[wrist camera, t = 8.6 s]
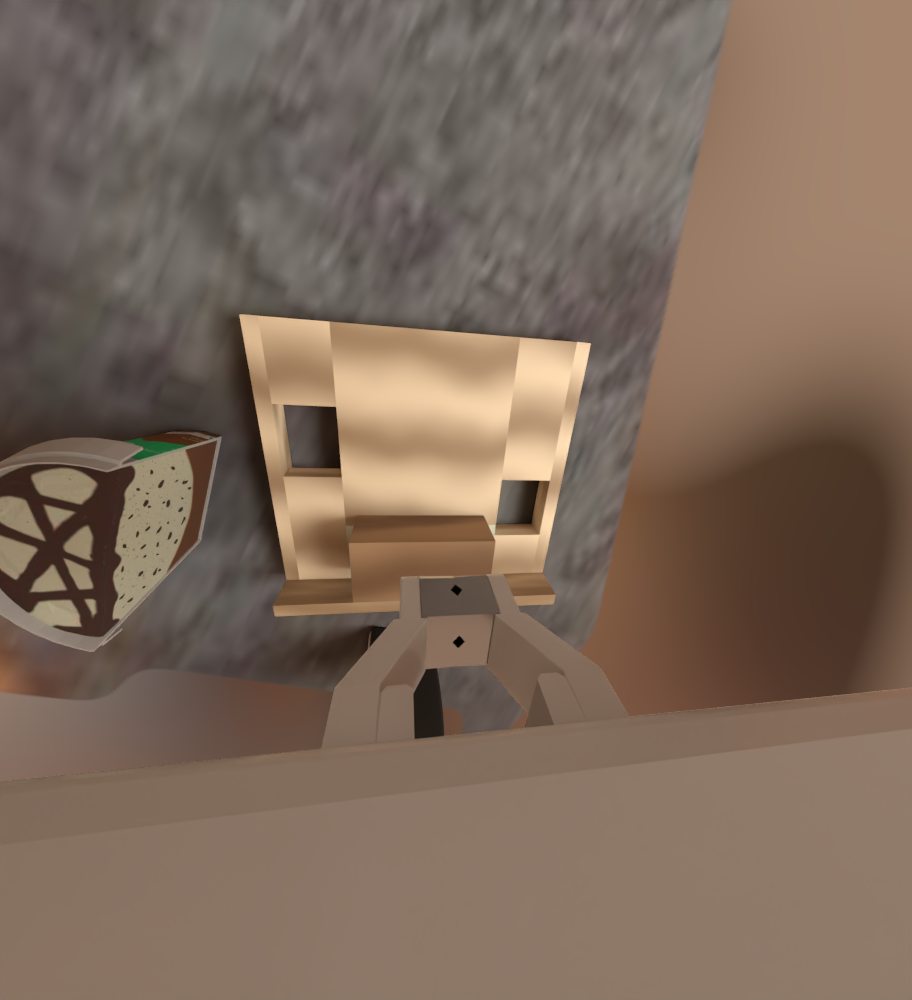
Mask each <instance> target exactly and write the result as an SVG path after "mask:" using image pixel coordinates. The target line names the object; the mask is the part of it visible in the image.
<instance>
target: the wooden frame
mask: <svg viewBox="0 0 912 1000" xmlns="http://www.w3.org/2000/svg"><path fill="white" fill-rule="evenodd" d="M239 316H240V322H241V328H242V333H243V339H244V344H245V350H246V356H247V361H248V367H249V372H250V378H251V384H252V389H253V395H254V400H255V406H256V412H257V417H258V423H259V429H260V434H261V440H262V445H263V451H264V457H265V462H266V468H267V473H268V479H269V485H270V490H271V496H272V501H273V507H274V513H275V518H276V524H277V529H278V535H279V541H280V546H281V552H282V557H283V563H284V569H285V574H286V582H285V584H284V586H283V588H282V590H281V591H280V593H279V595H278V597H277V599H276V601H275V603H274V605H273V609H274V614H275V616H294V615H316V614H339V613H362V612H384V611H400V601H378V602H353V595H352V582H351V569H350V556H349V540H350V537H351V533H352V530H353V527H354V524H355V520H356V517H357V515H484V517H485V519H486V521H487V524H488V526H489V528H490V530H491V532H492V534H493V537H494V539H495V541H496V542H495V550H494V557H493V564H492V572H491V574H503V575H504V576H505V578H506V580H507V583H508V585H509V588H510V590H511V592H512V595H513V597H514V599H515V602H516V604H517V606H520V605H543V604H554V600H555V596H556V594H555V593H554V591H553V589H552V588H551V586H550V584H549V583H548V581H547V579H546V578H545V576H544V575H543V573H542V572H543V567H544V562H545V558H546V553H547V548H548V544H549V539H550V534H551V529H552V525H553V520H554V515H555V511H556V506H557V501H558V496H559V492H560V487H561V482H562V477H563V473H564V468H565V463H566V459H567V454H568V449H569V444H570V440H571V435H572V430H573V425H574V421H575V416H576V411H577V407H578V402H579V397H580V392H581V388H582V383H583V378H584V374H585V369H586V364H587V359H588V355H589V350H590V345H591V343H581V342H569V341H557V340H545V339H533V338H520V337H508V336H496V335H484V334H472V333H460V332H448V331H436V330H424V329H412V328H400V327H388V326H376V325H364V324H351V323H339V322H327V321H315V320H303V319H291V318H279V317H267V316H255V315H243V314H239ZM283 404H285V405H307V406H328V407H336V411H337V423H338V435H339V448H340V460H341V468H293V467H292V463H291V456H290V449H289V442H288V435H287V428H286V421H285V414H284V408H283ZM502 480H539V485H538V491H537V496H536V502H535V507H534V513H533V518H532V524H496V519H497V511H498V504H499V496H500V488H501V481H502Z"/></svg>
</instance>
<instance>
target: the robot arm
mask: <svg viewBox="0 0 912 1000" xmlns="http://www.w3.org/2000/svg"><path fill="white" fill-rule="evenodd" d="M472 665H487V667H488V668H489V669H490V671H491V672H492V673H493V674H494V675H495V677H496V678H497V679H498V680H499V681H500V682H501V684H502V685H503V686H504V687H505V688H506V689H507V691H508V692H509V693H510V694H511V695H512V696H513V698H514V699H515V700H516V701H517V702H518V704H519V705H520V706H521V707H522V708H523V709H524V711H525V712H526V713H527V714H528V717H527V720H526V724H525V728H519V729H508V730H498V731H489V732H479V733H469V734H460V735H449V736H440V737H430V738H420V739H415V737H414V700H413V693H414V691H415V690H416V688H417V686H418V684H419V682H420V680H421V678H422V676H423V675H424V673H425V669H433V668H443V667H453V666H472ZM0 1000H912V688H904V689H895V690H885V691H876V692H866V693H856V694H847V695H837V696H827V697H817V698H808V699H798V700H788V701H779V702H769V703H759V704H749V705H740V706H730V707H720V708H710V709H701V710H691V711H681V712H671V713H662V714H652V715H643V716H633V717H629V715H628V713H627V712H626V710H625V709H624V707H623V705H622V703H621V702H620V700H619V698H618V696H617V695H616V693H615V691H614V690H613V688H612V686H611V685H610V683H609V681H608V680H607V678H606V676H605V675H604V673H603V671H602V669H601V668H600V667H599V666H597V665H596V664H595V663H593V662H592V661H590V660H589V659H588V658H586V657H585V656H584V655H582V654H581V653H579V652H578V651H577V650H575V649H574V648H573V647H571V646H570V645H569V644H567V643H566V642H564V641H563V640H562V639H560V638H559V637H558V636H556V635H555V634H553V633H552V632H551V631H549V630H548V629H547V628H545V627H544V626H543V625H541V624H540V623H538V622H537V621H536V620H534V619H533V618H532V617H530V616H529V615H527V614H526V613H520V611H519V609H518V606H517V604H516V602H515V599H514V597H513V595H512V592H511V590H510V588H509V585H508V583H507V580H506V578H505V576H504V575H503V574H486V575H470V576H419V577H418V576H410V577H401V580H400V614H399V619H394V620H393V621H392V622H391V623H390V624H389V626H388V627H387V628H386V629H385V630H384V631H383V633H382V634H381V635H380V636H379V637H378V638H377V639H376V641H375V642H374V643H373V644H372V645H371V646H370V648H369V649H368V650H367V651H366V652H365V653H364V654H363V656H362V657H361V658H360V659H359V660H358V661H357V663H356V664H355V665H354V666H353V667H352V668H351V669H350V671H349V672H348V673H347V674H346V675H345V676H344V678H343V679H342V680H341V681H340V682H339V683H338V684H337V686H336V687H335V688H334V693H333V698H332V702H331V707H330V711H329V716H328V721H327V725H326V730H325V735H324V739H323V744H322V748H321V749H314V750H304V751H294V752H284V753H275V754H265V755H255V756H246V757H236V758H226V759H216V760H207V761H197V762H187V763H178V764H168V765H158V766H148V767H139V768H129V769H120V770H110V771H100V772H91V773H80V774H71V775H61V776H52V777H42V778H32V779H23V780H13V781H3V782H0Z"/></svg>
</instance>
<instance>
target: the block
mask: <svg viewBox="0 0 912 1000" xmlns="http://www.w3.org/2000/svg"><path fill="white" fill-rule="evenodd" d="M495 542H496V541H495V539H494V537H493V534H492V532H491V530H490V528H489V526H488V524H487V521H486V519H485V517H484V515H357V517H356V520H355V524H354V527H353V530H352V533H351V537H350V540H349V556H350V569H351V582H352V595H353V602H378V601H400V580H401V577H410V576H418V577H419V576H470V575H486V574H491V572H492V564H493V557H494V550H495Z"/></svg>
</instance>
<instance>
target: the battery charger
mask: <svg viewBox="0 0 912 1000" xmlns="http://www.w3.org/2000/svg"><path fill="white" fill-rule="evenodd" d="M384 630H385V629H383V628H373V629H372V631H371V632H370V634H369V639H368V647H367V650H368V649H369V648H370V646H371V645H372V644H373V643H374V642H375V641H376V639H377V638H378V637H379V636H380V635H381V634H382V633H383V631H384ZM413 700H414V737H415V739H420V738H430V737H440V736H444V724H443V710H442V700H441V692H440V685H439V678H438V671H437V668H433V669H425V673H424V675H423V676H422V678H421V680H420V682H419V684H418V686H417V688H416V690H415V691H414V693H413Z"/></svg>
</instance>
